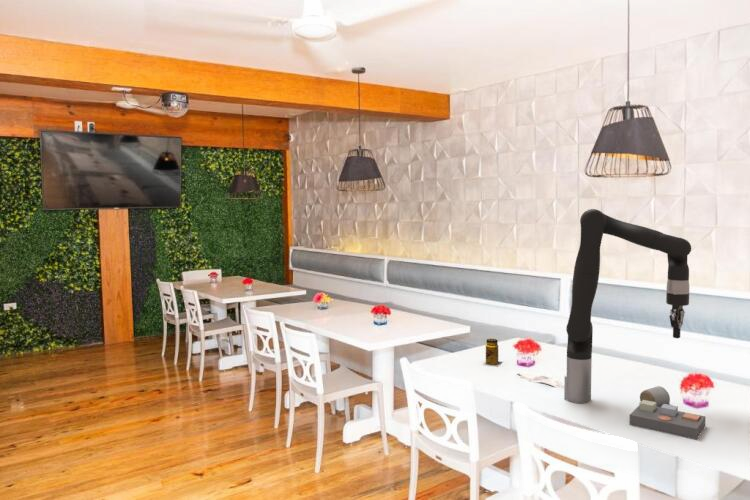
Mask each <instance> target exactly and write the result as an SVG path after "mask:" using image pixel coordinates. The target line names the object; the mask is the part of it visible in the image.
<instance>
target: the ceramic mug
mask: <svg viewBox="0 0 750 500" xmlns="http://www.w3.org/2000/svg"><path fill="white" fill-rule="evenodd" d="M642 400H647V401H652V402H656V407H660V408H661V406H662V405H663V404H668V405H671V397H670V394H669V392H668V391H667V389H665V387H663V386H661V385H660V386H659V385H658V386H654V387H651V388H647V389H645V390H643V391H641V392H640V395H639V401H640V402H641V401H642Z"/></svg>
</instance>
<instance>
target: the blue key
mask: <svg viewBox="0 0 750 500" xmlns="http://www.w3.org/2000/svg"><path fill="white" fill-rule="evenodd" d="M678 411H679V407H678V405H672V404H670V405H668V404H663V405H662V406H661V414H662V415H667V416H672V417H676V416H677V415H678Z"/></svg>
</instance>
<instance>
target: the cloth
mask: <svg viewBox="0 0 750 500" xmlns="http://www.w3.org/2000/svg"><path fill="white" fill-rule="evenodd" d="M516 376H520V379H522V378H523V380H525V379H526V380H525V381H528V382H532V383H539V384H540V383H543V384H546V385H549V386H551V387H554V388H564V386H565V384H563V382H560V380H558V379H556V378H554V377H548V376H546V375H542V374H541V375H538V374H523V373H517V374H516Z"/></svg>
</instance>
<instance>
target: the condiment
mask: <svg viewBox="0 0 750 500" xmlns="http://www.w3.org/2000/svg"><path fill="white" fill-rule="evenodd" d="M485 343H486V344H485V362H484V363H483V365H486V366H492V367H493V366H494V367H495V366H496V367H499V366H501V365H500V364H502V363H503V361H501V360H500V361H499V344H498V339H496V338H487V339H486V342H485Z"/></svg>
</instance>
